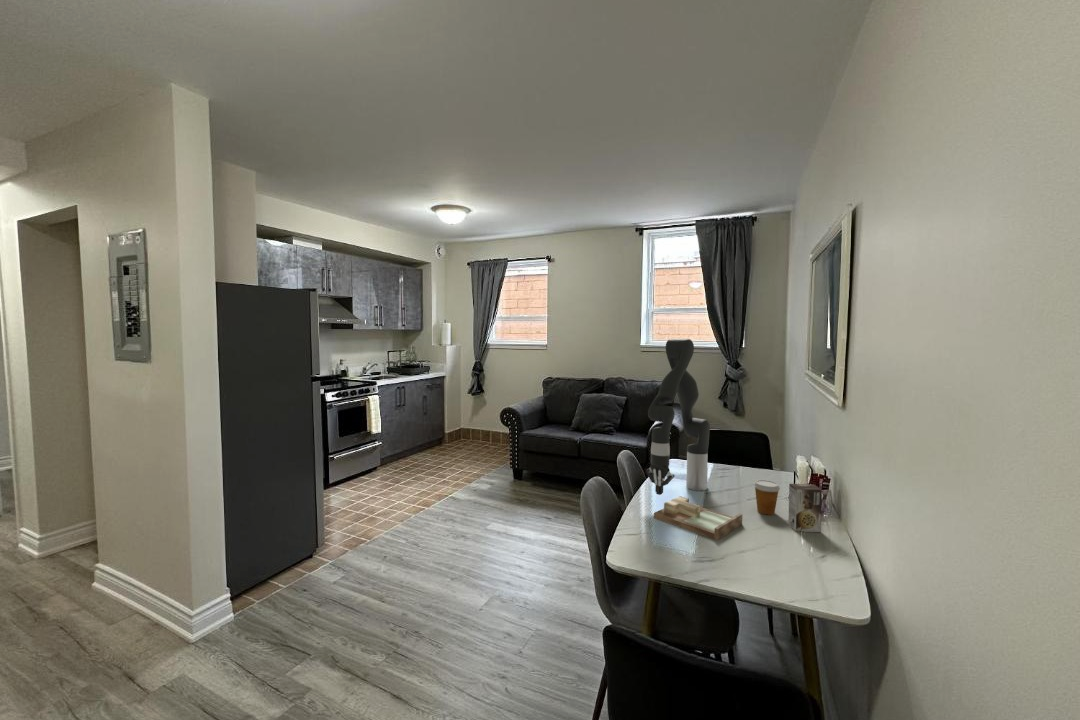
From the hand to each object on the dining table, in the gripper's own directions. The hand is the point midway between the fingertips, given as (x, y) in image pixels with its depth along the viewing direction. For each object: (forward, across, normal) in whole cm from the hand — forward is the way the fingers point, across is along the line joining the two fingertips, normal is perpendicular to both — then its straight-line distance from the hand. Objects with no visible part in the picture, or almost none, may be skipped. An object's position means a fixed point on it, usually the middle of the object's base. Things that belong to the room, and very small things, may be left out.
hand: (659, 494), depth 186 cm
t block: (+4, -12, 0) cm, 12 cm away
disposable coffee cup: (+6, -31, -30) cm, 44 cm away
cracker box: (+6, -47, -24) cm, 53 cm away
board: (+6, -17, 0) cm, 18 cm away
